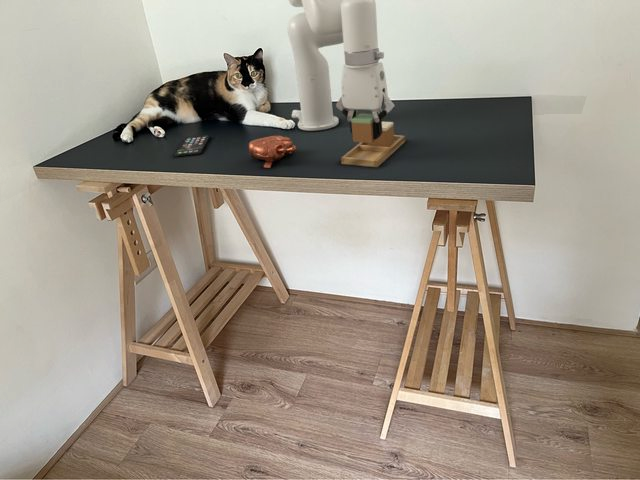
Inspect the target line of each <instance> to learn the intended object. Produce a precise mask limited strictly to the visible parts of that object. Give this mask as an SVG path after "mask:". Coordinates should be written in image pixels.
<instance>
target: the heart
mask: <svg viewBox="0 0 640 480" xmlns="http://www.w3.org/2000/svg"><path fill="white" fill-rule="evenodd" d="M297 150H298V149H297V146H296V145H294V143H293V141H292V139H291V138H290V137H288V136H283V135H270V136H264V137H261V138H257V139H253V140H251V141H250V142H249V143H248V152H249V156H250V158H252V159H254V160H261V161H265V163H264V164H263V168H266V169H271V167H272V165H273V163H274V162H277V161H278V160H281V159H282V158H283V157H288V156H289V155H291V154H292V153H297Z"/></svg>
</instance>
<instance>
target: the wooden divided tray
mask: <svg viewBox="0 0 640 480" xmlns="http://www.w3.org/2000/svg"><path fill="white" fill-rule="evenodd" d="M404 143H406V135H400V134H399V135H397V134H394V143H393V144H392V145H391V146H390V147H382V146H370V145H369V143H363V142H358V144H356V145H355V146H354V147H353V148H351V149H350V150H349V151H347V152H346V153H345V154H344V155H342V156H341V157H340V161H341V165H349V166H351V165H352V166H359V167H360V166H361V167H370V168H379V167H380V165H383V163H384V162H385V161H386V160H387V159H388V158H390V156H392V155H393V154H394V153H395V152H396V151H397V150H398V149H399V148H400V147H401V146H402V145H403V144H404Z"/></svg>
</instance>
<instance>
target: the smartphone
mask: <svg viewBox="0 0 640 480" xmlns="http://www.w3.org/2000/svg"><path fill="white" fill-rule="evenodd" d="M209 139H210V135H209V134H208V135H196V136H189V137H185V139H183V141H182V143H181V144H180V146H179V147H178V148H177V150H176V151H175V153H174V156H175V157H184V156H192V155H193V156H194V155H195V156H196V155H200V154H202V152H203V150H204V148H205V146H206V145H207V142H209Z"/></svg>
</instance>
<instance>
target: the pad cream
mask: <svg viewBox="0 0 640 480" xmlns="http://www.w3.org/2000/svg"><path fill="white" fill-rule="evenodd" d="M394 131H395V128H394V121H382V134H381V136H380V137H379V138H378V139H376V140H375V141H374V142H373V143H369V145H370V146H382V147H390V146H391V145H392V144H393V143H394V135H395V132H394Z"/></svg>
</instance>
